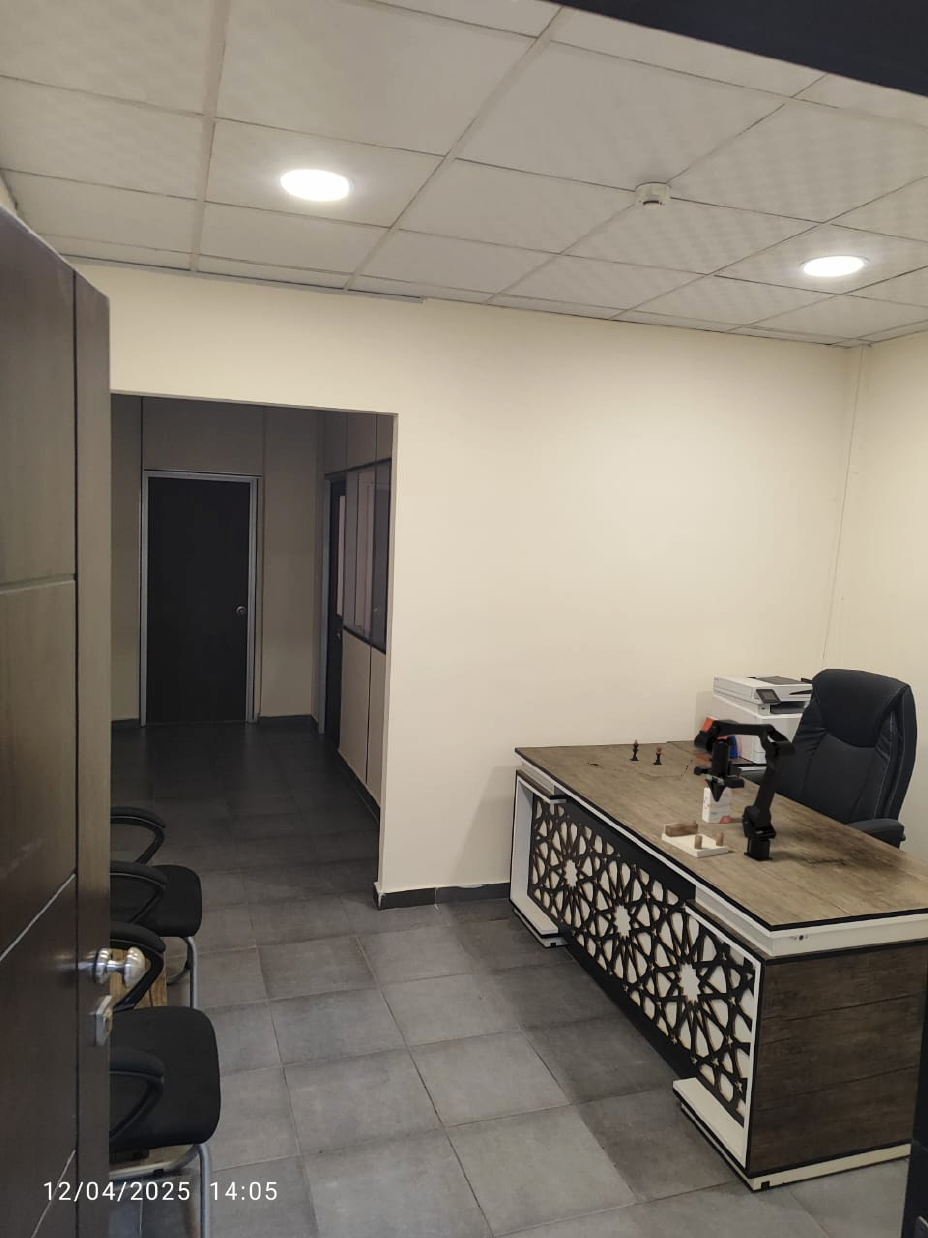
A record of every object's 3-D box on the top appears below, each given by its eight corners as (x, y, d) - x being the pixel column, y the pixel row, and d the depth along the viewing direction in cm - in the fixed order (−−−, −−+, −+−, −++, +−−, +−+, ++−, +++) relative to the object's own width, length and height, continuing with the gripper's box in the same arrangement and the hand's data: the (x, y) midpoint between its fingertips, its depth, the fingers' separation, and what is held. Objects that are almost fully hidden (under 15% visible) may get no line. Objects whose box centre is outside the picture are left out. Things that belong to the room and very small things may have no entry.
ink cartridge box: (723, 818, 310) (726, 779, 309) (729, 823, 305) (733, 783, 304) (701, 819, 308) (704, 779, 307) (707, 823, 304) (711, 783, 302)
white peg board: (727, 852, 275) (729, 834, 275) (696, 857, 269) (698, 839, 269) (691, 835, 290) (693, 818, 290) (661, 839, 284) (662, 821, 284)
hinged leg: (692, 830, 288) (693, 819, 288) (697, 833, 286) (698, 821, 286) (664, 834, 283) (665, 822, 283) (669, 836, 281) (670, 824, 281)
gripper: (758, 761, 284) (754, 807, 285) (718, 748, 300) (715, 791, 302) (733, 764, 278) (729, 810, 280) (694, 750, 295) (690, 794, 297)
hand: (716, 801), depth 290 cm, fingers closed
